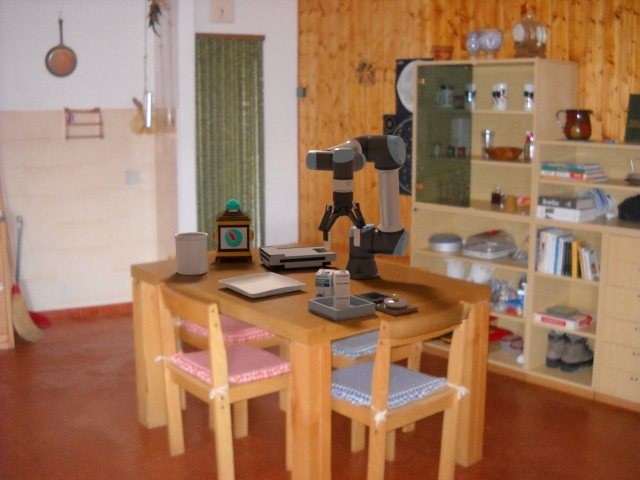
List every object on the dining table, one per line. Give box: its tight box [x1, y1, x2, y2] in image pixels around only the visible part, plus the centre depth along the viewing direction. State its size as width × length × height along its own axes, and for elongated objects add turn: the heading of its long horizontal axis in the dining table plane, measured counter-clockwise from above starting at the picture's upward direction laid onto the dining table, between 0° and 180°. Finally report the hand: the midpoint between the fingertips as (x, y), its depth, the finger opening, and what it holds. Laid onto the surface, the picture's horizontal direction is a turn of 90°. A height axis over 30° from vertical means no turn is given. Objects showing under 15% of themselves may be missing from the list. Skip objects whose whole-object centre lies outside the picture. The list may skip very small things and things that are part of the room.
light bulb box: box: [314, 268, 336, 299], centre depth 310 cm, size 11×7×11 cm, turn 170°
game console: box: [258, 245, 338, 273], centre depth 368 cm, size 21×32×8 cm, turn 109°
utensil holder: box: [174, 231, 209, 276], centre depth 353 cm, size 15×15×18 cm
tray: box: [307, 294, 376, 322], centre depth 291 cm, size 18×18×4 cm
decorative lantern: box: [212, 198, 255, 264], centre depth 378 cm, size 20×20×30 cm
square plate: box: [217, 271, 307, 299], centre depth 324 cm, size 27×27×4 cm
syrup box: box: [334, 269, 351, 310], centre depth 290 cm, size 6×6×14 cm
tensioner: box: [353, 290, 419, 317], centre depth 299 cm, size 24×12×6 cm, turn 35°
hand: (342, 247), depth 287 cm, fingers open, 13 cm apart
